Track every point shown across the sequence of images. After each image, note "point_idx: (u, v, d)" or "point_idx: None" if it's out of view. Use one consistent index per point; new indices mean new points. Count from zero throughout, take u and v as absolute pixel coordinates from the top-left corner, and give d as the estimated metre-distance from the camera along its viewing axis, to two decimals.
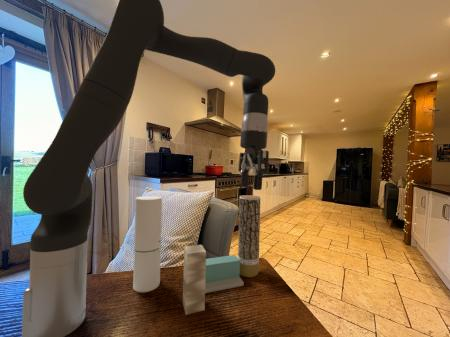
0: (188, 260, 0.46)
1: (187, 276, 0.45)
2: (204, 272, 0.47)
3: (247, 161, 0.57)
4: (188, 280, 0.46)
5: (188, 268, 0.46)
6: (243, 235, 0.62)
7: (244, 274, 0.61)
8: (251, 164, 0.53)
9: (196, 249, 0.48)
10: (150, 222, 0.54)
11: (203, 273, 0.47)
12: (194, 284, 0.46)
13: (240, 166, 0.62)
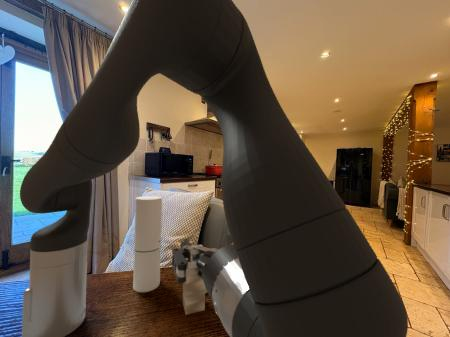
0: None
1: (187, 276, 0.45)
2: None
3: None
4: (188, 280, 0.46)
5: None
6: None
7: None
8: (199, 247, 0.31)
9: None
10: (150, 222, 0.54)
11: None
12: (194, 284, 0.46)
13: None
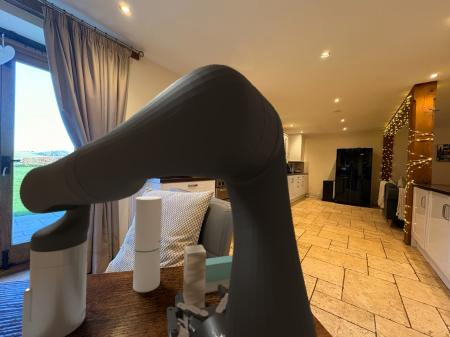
0: (188, 260, 0.46)
1: (187, 276, 0.45)
2: (204, 272, 0.47)
3: (213, 310, 0.35)
4: (188, 280, 0.46)
5: (188, 268, 0.46)
6: None
7: None
8: (190, 308, 0.35)
9: (196, 249, 0.48)
10: (150, 222, 0.54)
11: (203, 273, 0.47)
12: (194, 284, 0.46)
13: None
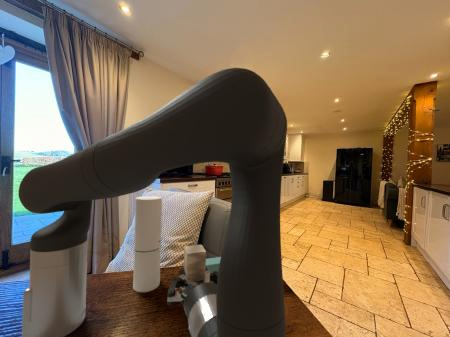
0: (188, 260, 0.46)
1: (187, 276, 0.45)
2: (204, 272, 0.47)
3: (200, 283, 0.43)
4: None
5: (188, 268, 0.46)
6: None
7: None
8: (187, 279, 0.43)
9: (196, 249, 0.48)
10: (150, 222, 0.54)
11: (203, 273, 0.47)
12: None
13: (215, 275, 0.47)
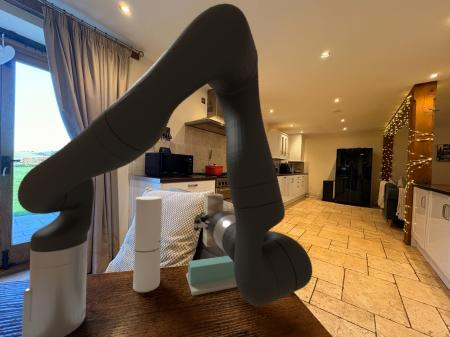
0: (208, 201, 0.54)
1: None
2: None
3: None
4: None
5: (208, 208, 0.54)
6: None
7: None
8: (209, 214, 0.52)
9: (215, 194, 0.56)
10: (150, 222, 0.54)
11: None
12: None
13: None
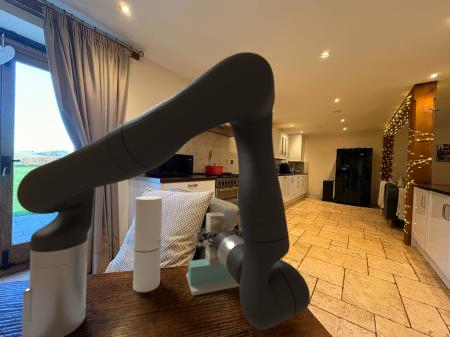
0: (211, 221, 0.57)
1: None
2: None
3: None
4: None
5: (211, 228, 0.57)
6: None
7: None
8: (210, 232, 0.54)
9: (217, 214, 0.59)
10: (150, 222, 0.54)
11: None
12: None
13: (235, 231, 0.58)
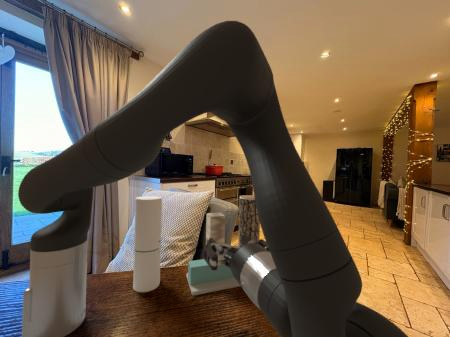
0: (211, 222, 0.57)
1: (210, 235, 0.57)
2: (224, 232, 0.58)
3: None
4: None
5: (211, 228, 0.57)
6: None
7: None
8: (224, 244, 0.40)
9: (217, 214, 0.59)
10: (150, 222, 0.54)
11: (223, 233, 0.58)
12: (215, 241, 0.57)
13: (261, 242, 0.44)
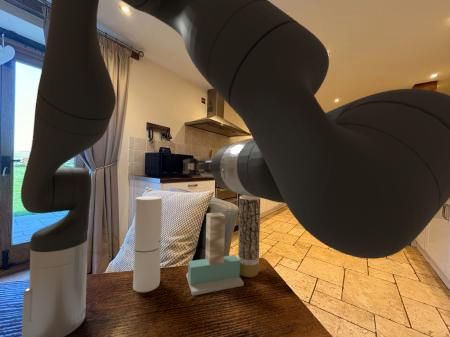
0: (211, 222, 0.57)
1: (210, 235, 0.57)
2: (224, 232, 0.58)
3: None
4: (211, 238, 0.57)
5: (211, 228, 0.57)
6: (243, 235, 0.62)
7: (244, 274, 0.61)
8: None
9: (217, 214, 0.59)
10: (150, 222, 0.54)
11: (223, 233, 0.58)
12: (215, 241, 0.57)
13: None
